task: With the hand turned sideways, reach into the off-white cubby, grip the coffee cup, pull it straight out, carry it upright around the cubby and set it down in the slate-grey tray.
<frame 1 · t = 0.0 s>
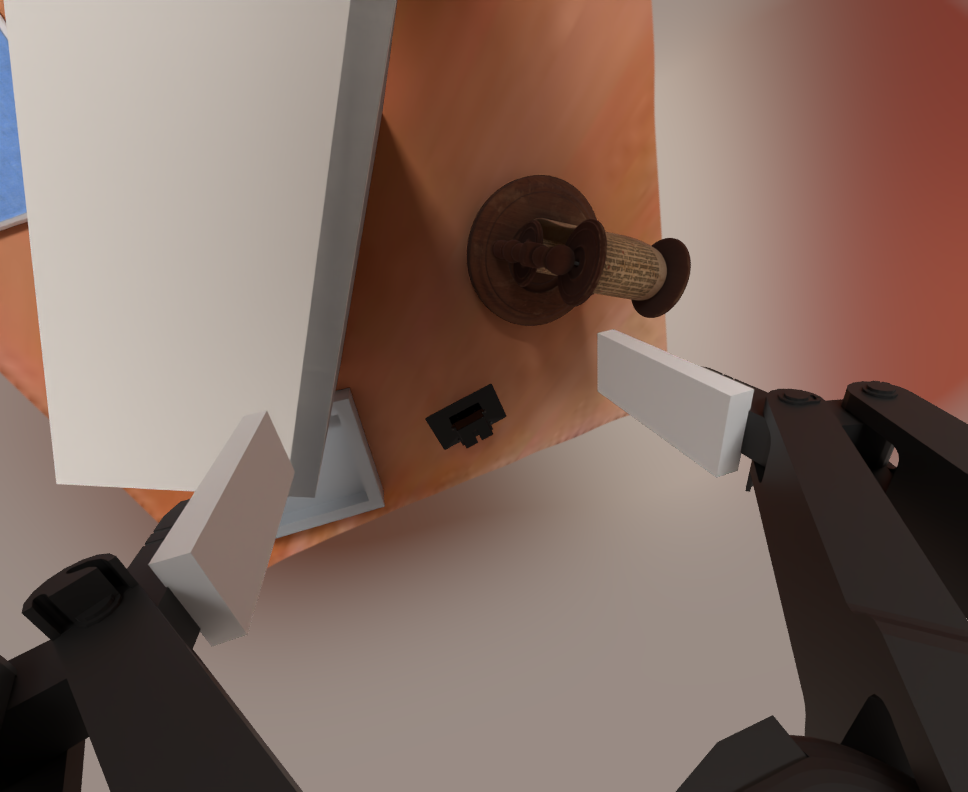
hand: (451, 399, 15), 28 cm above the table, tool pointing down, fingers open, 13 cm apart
tray: (303, 460, 44), on the table
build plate: (466, 414, 49), on the table
cubby: (279, 230, 35), on the table
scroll: (527, 254, 42), on the table
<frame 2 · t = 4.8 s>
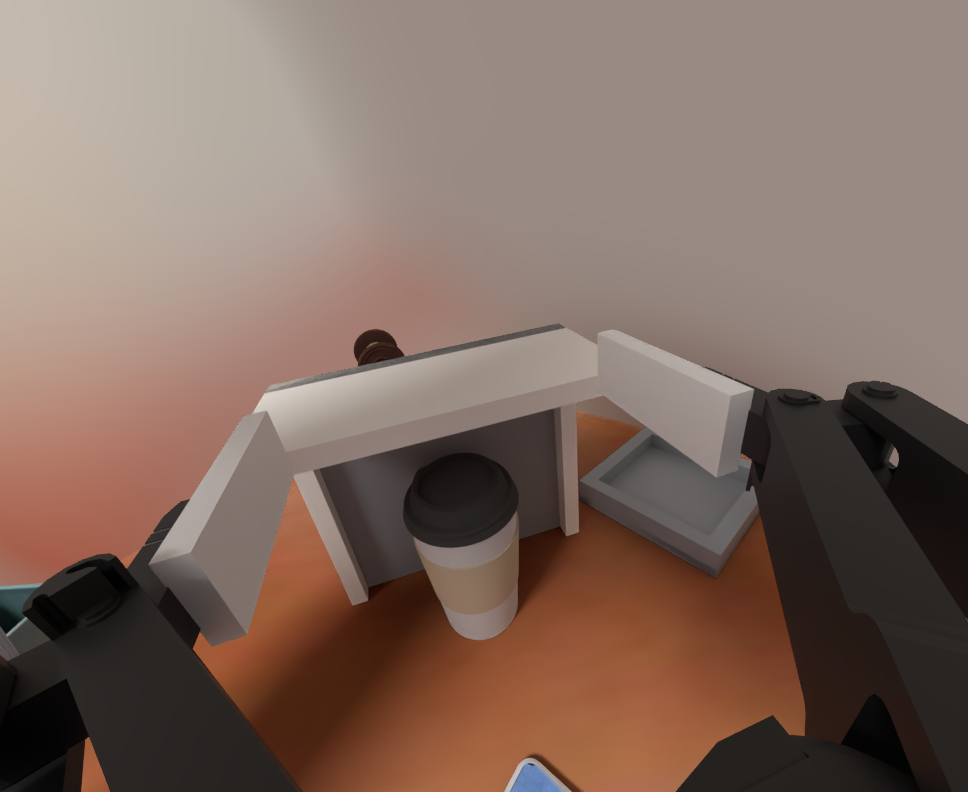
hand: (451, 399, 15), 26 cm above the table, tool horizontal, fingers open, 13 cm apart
tray: (673, 496, 43), on the table
cubby: (482, 601, 35), on the table
coffee cup: (482, 603, 35), on the table
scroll: (409, 467, 56), on the table
flower pot: (40, 698, 33), on the table
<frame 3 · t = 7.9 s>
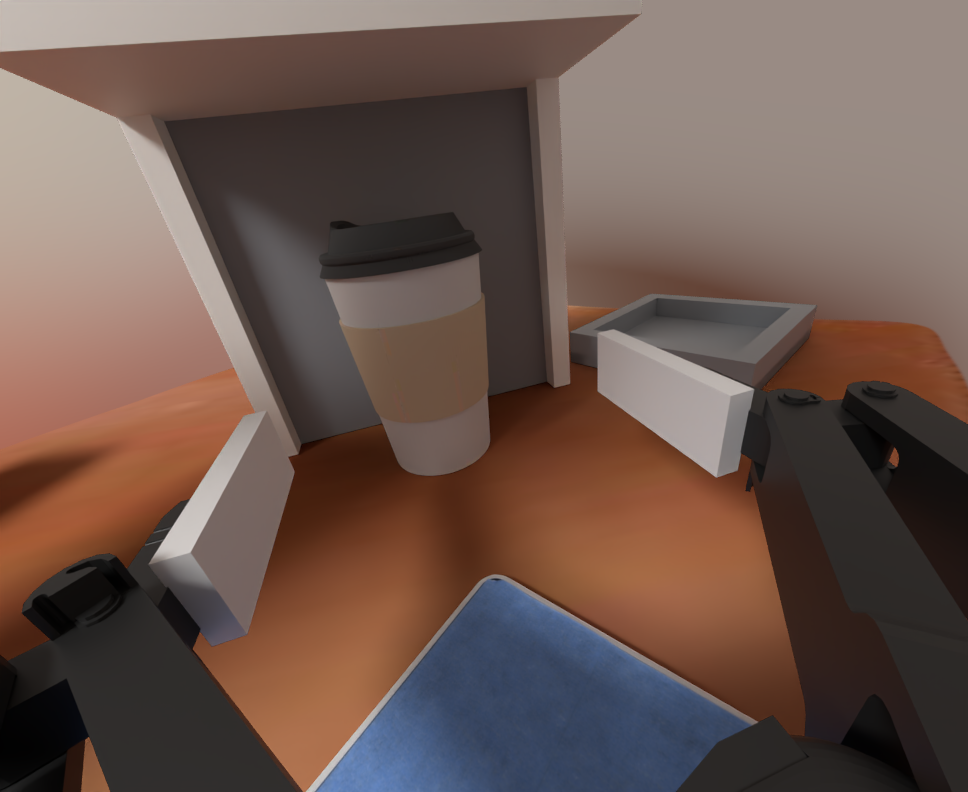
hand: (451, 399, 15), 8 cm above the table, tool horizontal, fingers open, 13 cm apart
tray: (685, 350, 36), on the table
cubby: (443, 444, 27), on the table
coffee cup: (444, 446, 27), on the table
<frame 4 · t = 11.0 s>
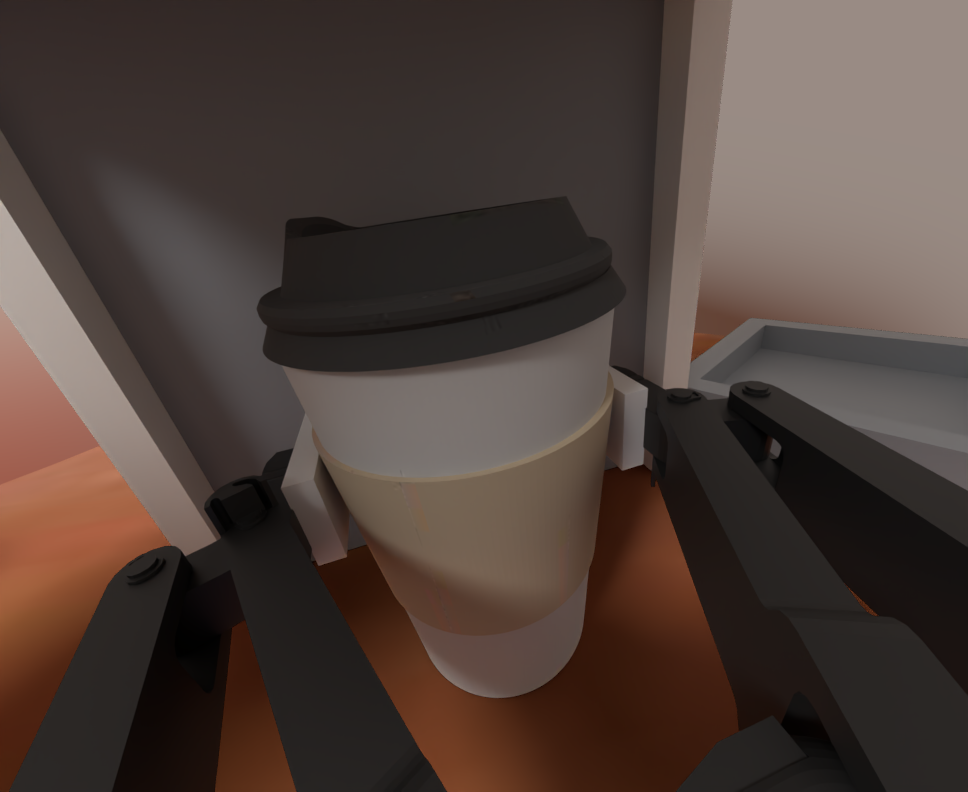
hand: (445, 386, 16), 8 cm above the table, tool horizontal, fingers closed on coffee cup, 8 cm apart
tray: (833, 408, 24), on the table
cubby: (500, 601, 16), on the table
coffee cup: (501, 604, 16), on the table, touching gripper
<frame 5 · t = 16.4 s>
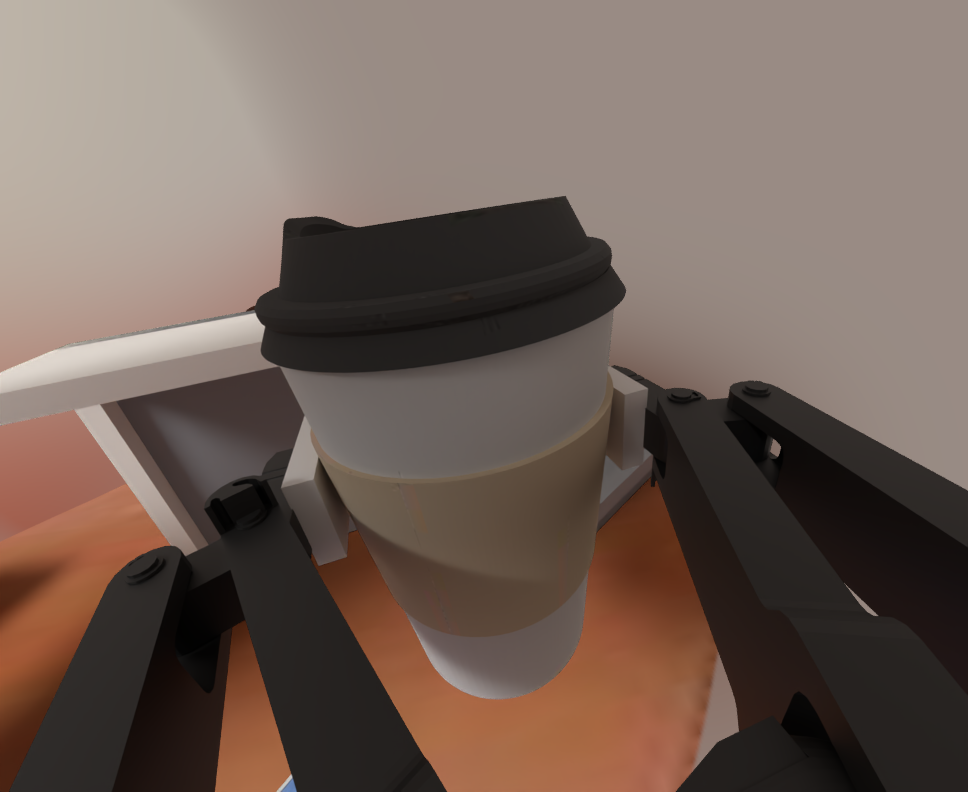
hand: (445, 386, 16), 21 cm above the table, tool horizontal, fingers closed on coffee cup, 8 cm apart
tray: (563, 471, 42), on the table
cubby: (336, 580, 33), on the table
coffee cup: (500, 605, 16), point 13 cm above the table, touching gripper
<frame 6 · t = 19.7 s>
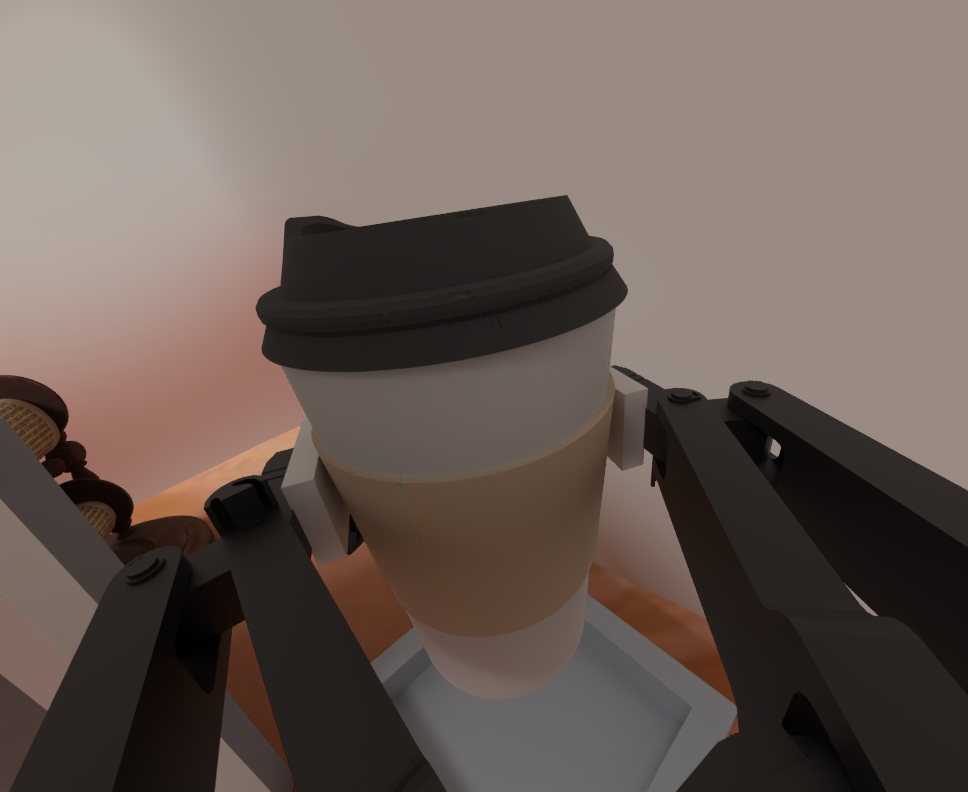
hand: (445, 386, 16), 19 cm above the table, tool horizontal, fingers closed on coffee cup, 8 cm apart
tray: (522, 733, 21), on the table
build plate: (368, 516, 39), on the table
coffee cup: (501, 605, 16), point 11 cm above the table, touching gripper
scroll: (127, 602, 33), on the table
when the fingers open (10 cm above the table, at t = 21.8 s): coffee cup moves 2 cm, resting on tray.
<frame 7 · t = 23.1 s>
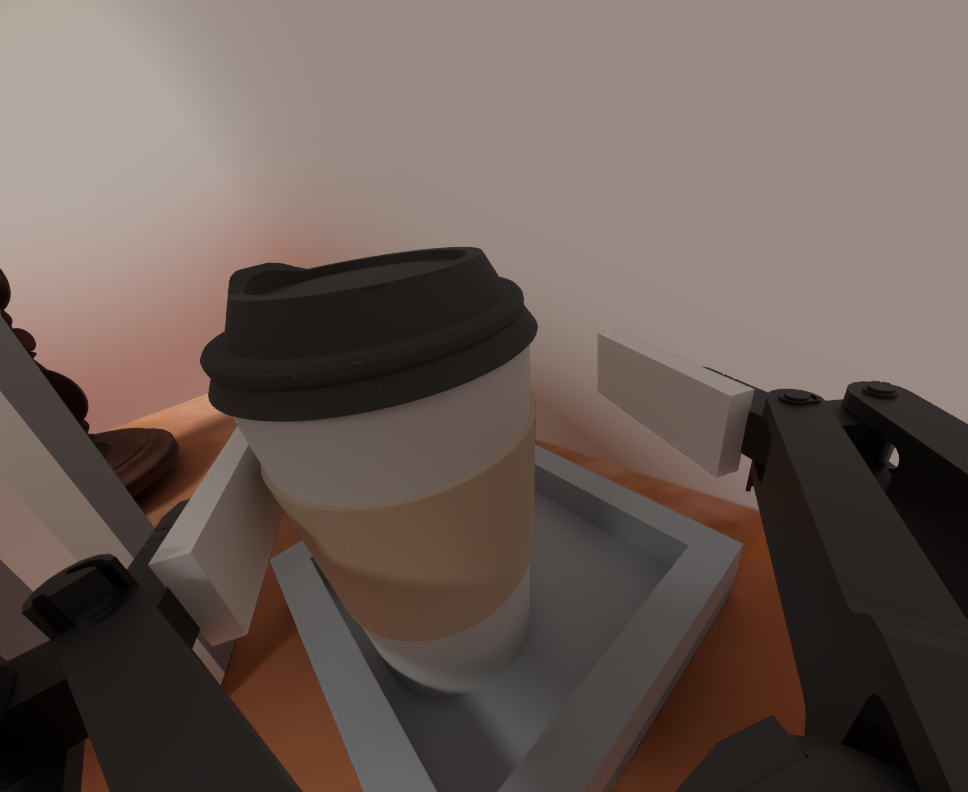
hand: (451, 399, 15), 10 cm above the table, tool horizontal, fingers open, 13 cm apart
tray: (495, 596, 18), on the table
coffee cup: (455, 610, 17), point 1 cm above the table, touching gripper, tray
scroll: (80, 507, 30), on the table
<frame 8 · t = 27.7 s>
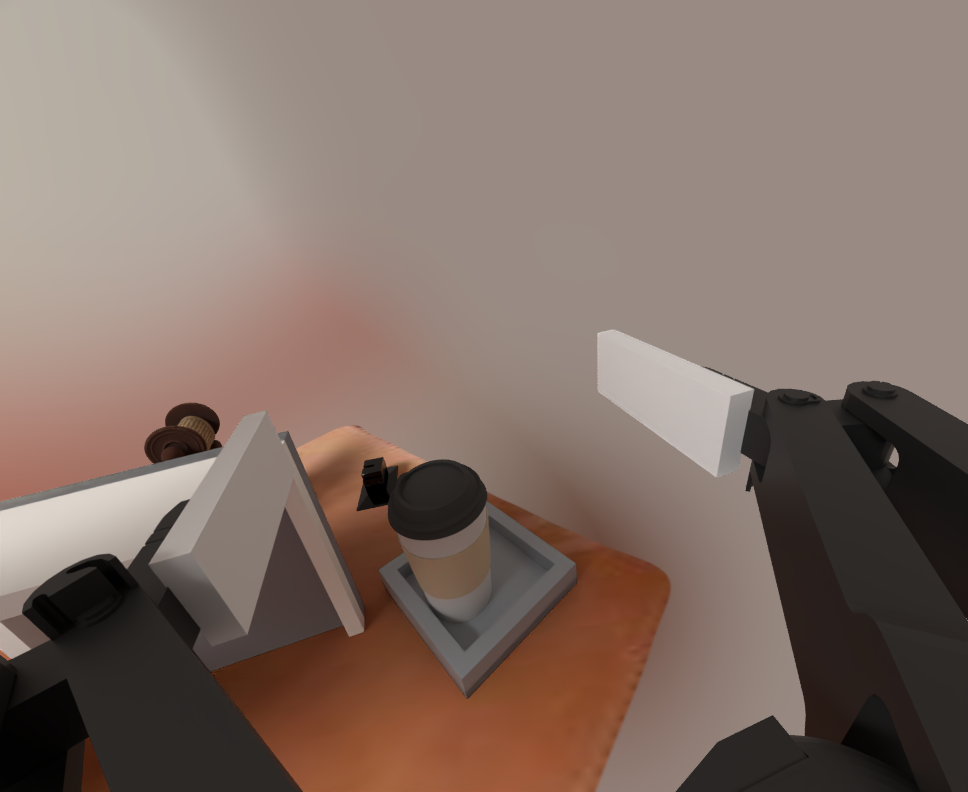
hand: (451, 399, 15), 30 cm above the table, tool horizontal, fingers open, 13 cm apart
tray: (478, 585, 41), on the table
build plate: (380, 489, 60), on the table
cubby: (223, 725, 33), on the table
coffee cup: (460, 591, 40), point 1 cm above the table, touching tray
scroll: (245, 538, 53), on the table
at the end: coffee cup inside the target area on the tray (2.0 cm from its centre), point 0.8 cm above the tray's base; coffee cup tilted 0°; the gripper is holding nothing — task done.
